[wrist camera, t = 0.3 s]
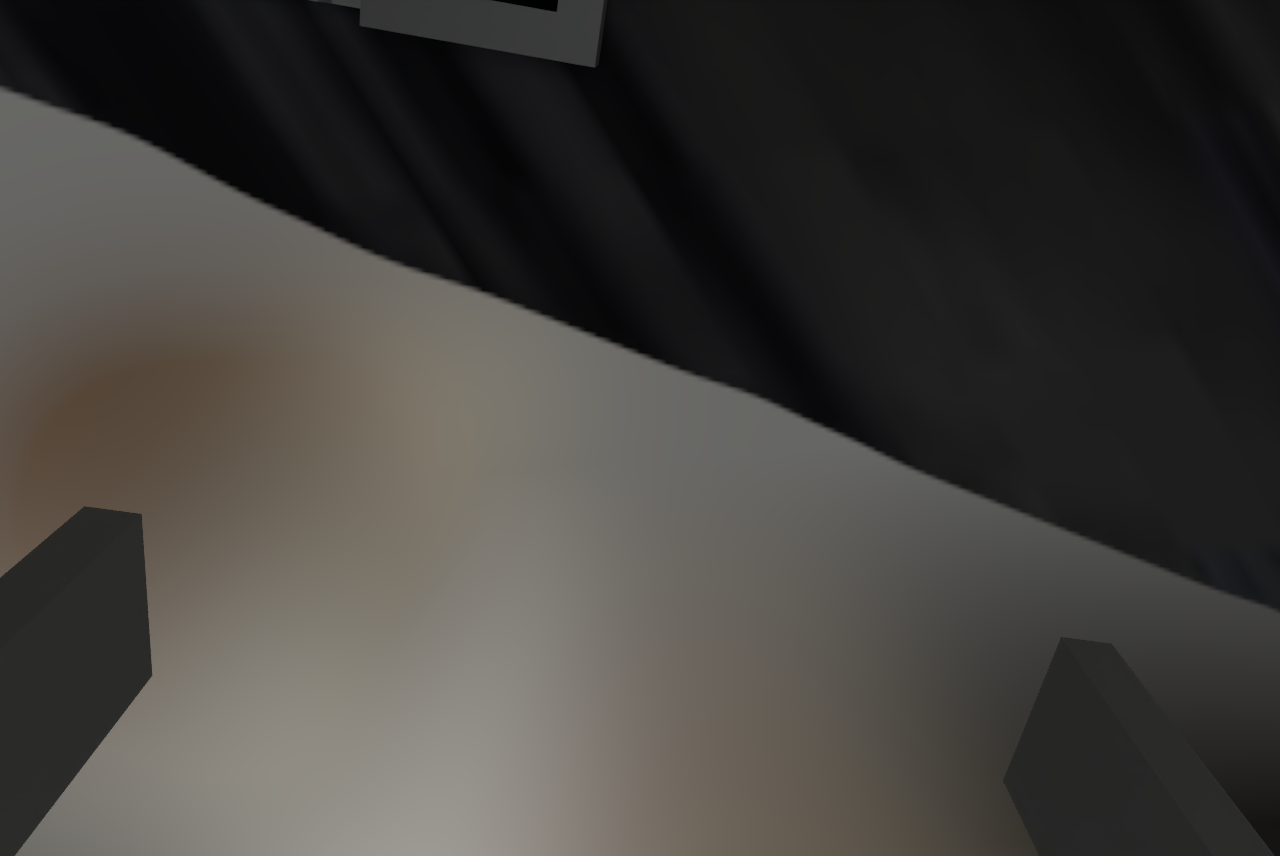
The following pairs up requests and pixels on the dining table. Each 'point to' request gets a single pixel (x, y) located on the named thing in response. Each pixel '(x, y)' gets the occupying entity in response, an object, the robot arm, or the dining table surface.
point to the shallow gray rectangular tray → (343, 2)
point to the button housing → (498, 25)
